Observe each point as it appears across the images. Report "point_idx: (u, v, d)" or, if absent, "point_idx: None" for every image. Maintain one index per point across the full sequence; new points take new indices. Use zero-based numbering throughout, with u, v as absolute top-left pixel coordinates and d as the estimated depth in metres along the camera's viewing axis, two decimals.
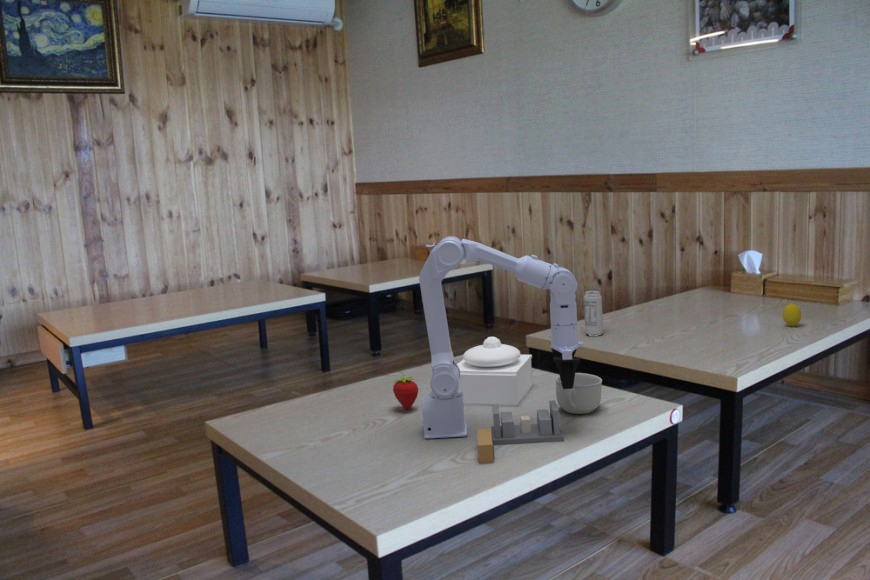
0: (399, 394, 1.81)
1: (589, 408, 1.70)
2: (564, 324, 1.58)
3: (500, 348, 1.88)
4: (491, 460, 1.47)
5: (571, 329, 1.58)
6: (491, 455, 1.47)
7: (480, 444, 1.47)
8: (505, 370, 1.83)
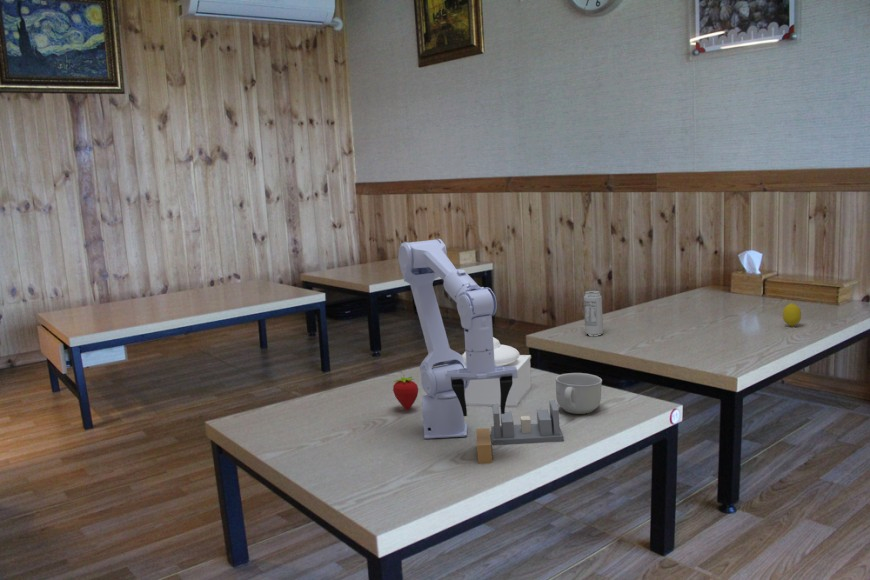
0: (399, 394, 1.81)
1: (589, 408, 1.70)
2: (466, 349, 1.47)
3: (499, 348, 1.87)
4: (490, 460, 1.47)
5: (467, 355, 1.47)
6: (490, 455, 1.47)
7: (479, 444, 1.47)
8: None
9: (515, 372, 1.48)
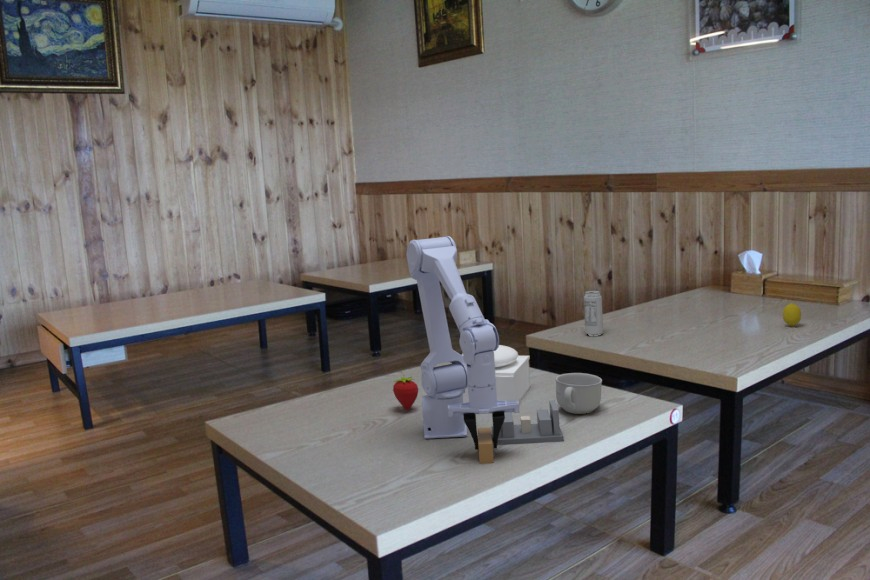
0: (399, 394, 1.81)
1: (589, 408, 1.70)
2: (469, 384, 1.48)
3: (498, 349, 1.87)
4: (491, 459, 1.47)
5: (470, 390, 1.48)
6: (491, 454, 1.47)
7: (480, 443, 1.47)
8: (503, 371, 1.82)
9: (517, 407, 1.49)
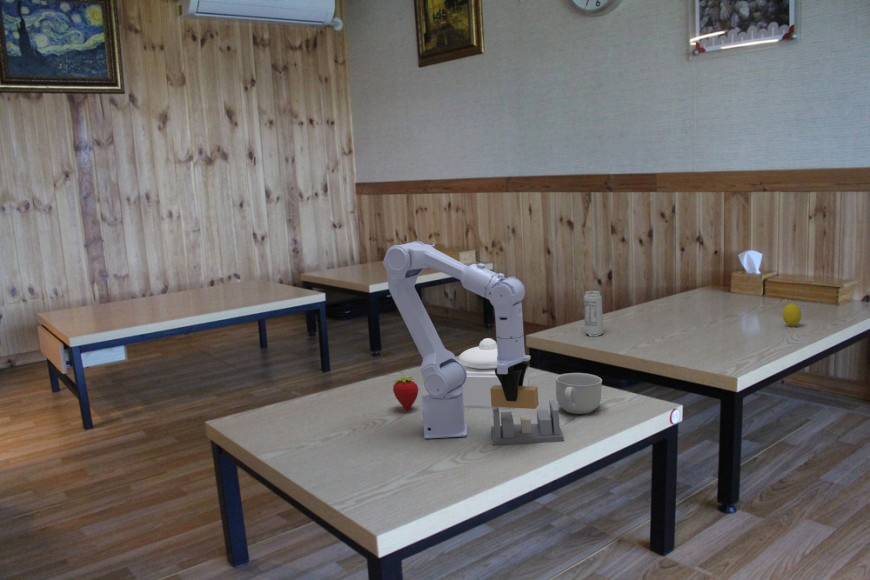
0: (399, 394, 1.81)
1: (589, 408, 1.70)
2: (503, 337, 1.52)
3: (496, 350, 1.86)
4: (537, 402, 1.56)
5: (513, 342, 1.52)
6: (537, 397, 1.56)
7: (532, 389, 1.54)
8: None
9: None
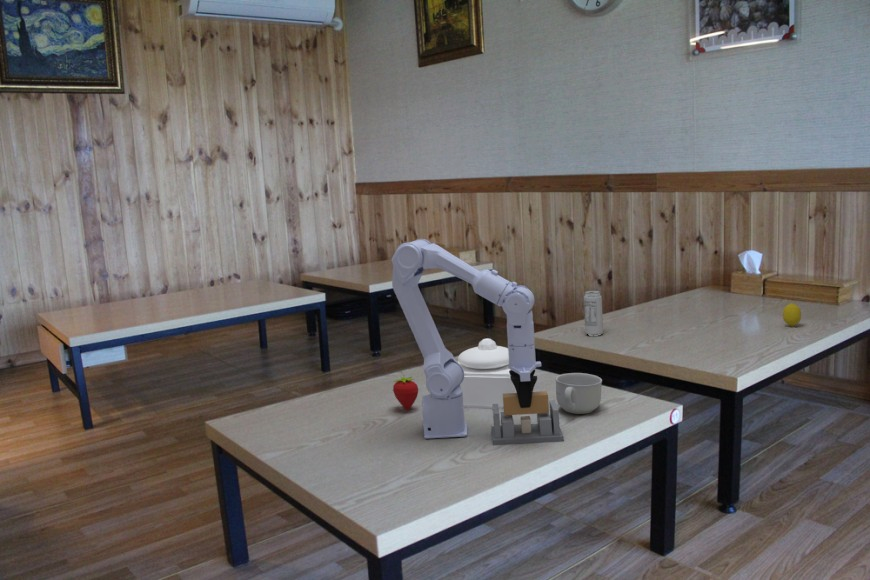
0: (399, 394, 1.81)
1: (589, 408, 1.70)
2: (517, 345, 1.55)
3: (495, 350, 1.86)
4: None
5: (529, 350, 1.55)
6: None
7: (545, 394, 1.58)
8: (500, 372, 1.81)
9: None
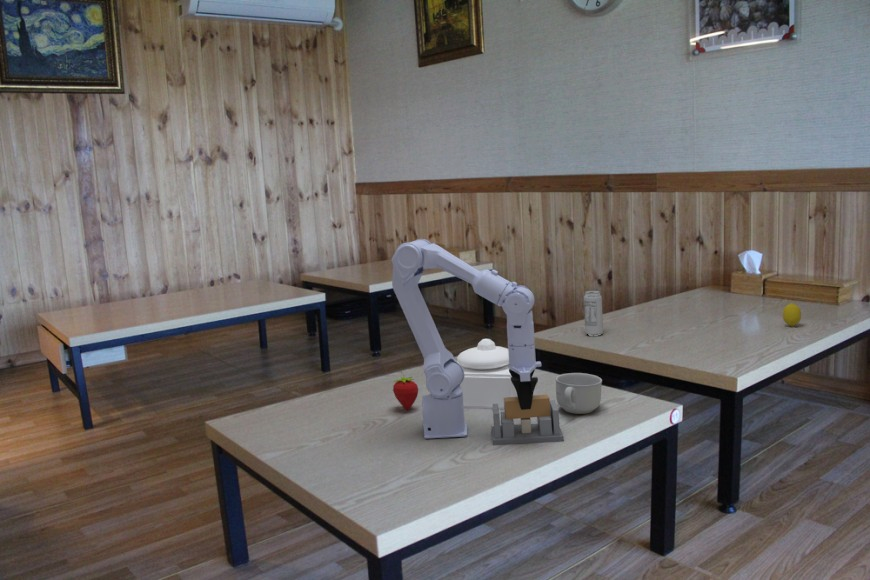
0: (399, 394, 1.81)
1: (589, 408, 1.70)
2: (517, 345, 1.55)
3: (494, 350, 1.86)
4: None
5: (529, 350, 1.55)
6: None
7: (546, 397, 1.58)
8: (499, 372, 1.81)
9: None
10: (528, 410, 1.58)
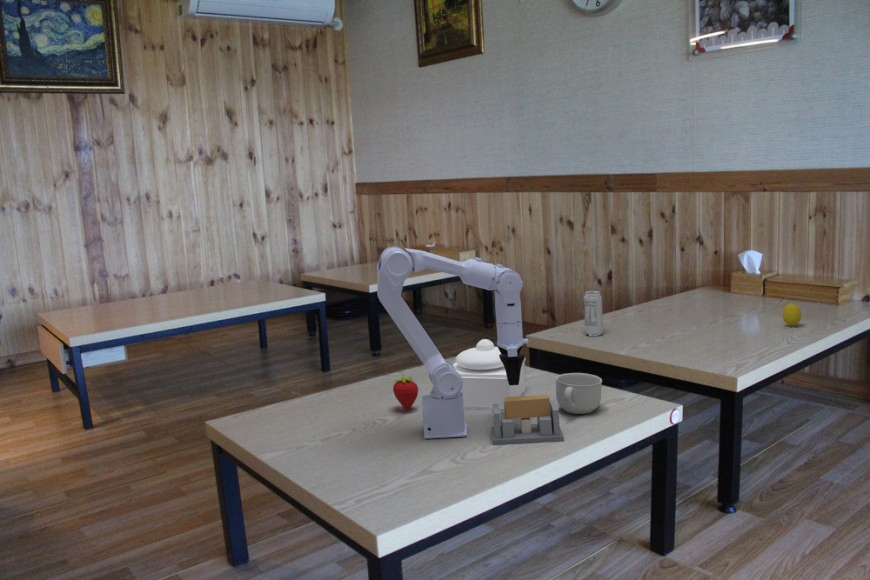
0: (399, 394, 1.81)
1: (589, 408, 1.70)
2: (511, 322, 1.62)
3: (493, 351, 1.85)
4: None
5: (516, 327, 1.63)
6: None
7: (546, 397, 1.58)
8: (498, 373, 1.80)
9: None
10: (528, 410, 1.58)
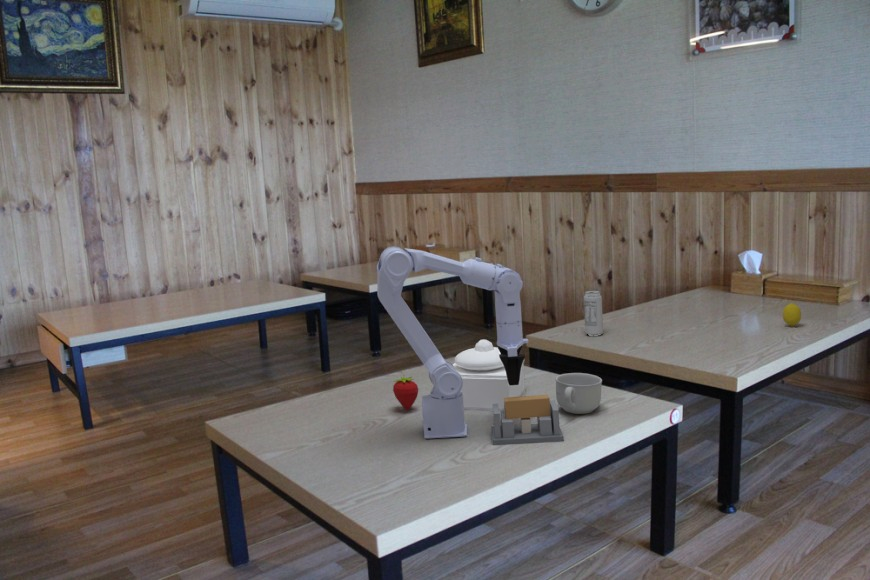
0: (399, 394, 1.81)
1: (589, 408, 1.70)
2: (511, 322, 1.62)
3: (492, 351, 1.85)
4: None
5: (516, 327, 1.63)
6: None
7: (546, 397, 1.58)
8: (497, 374, 1.80)
9: None
10: (528, 410, 1.58)
